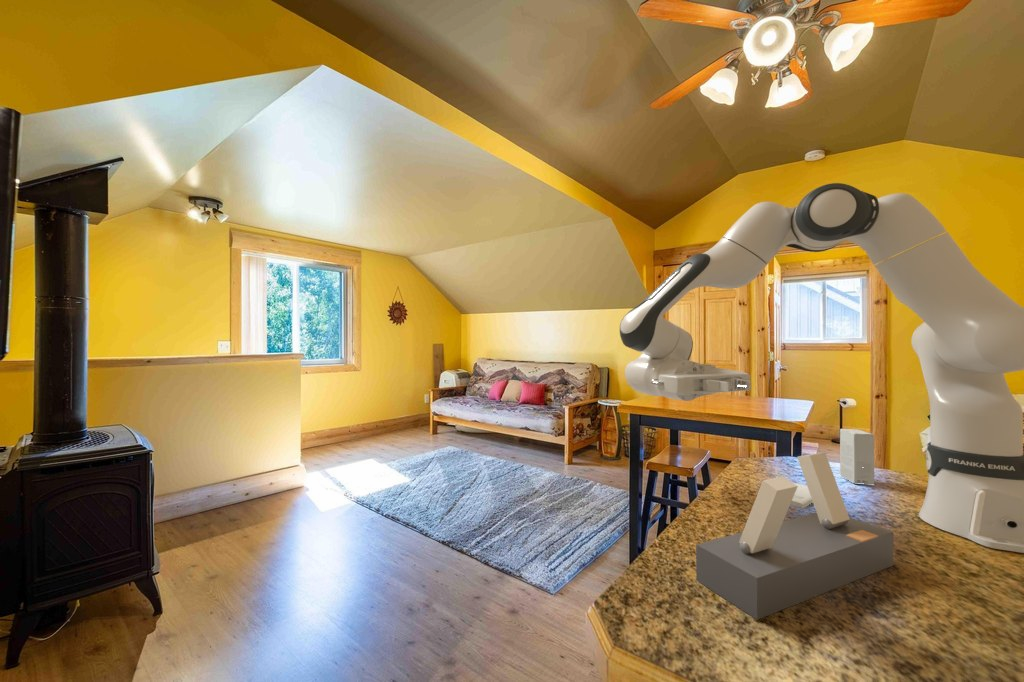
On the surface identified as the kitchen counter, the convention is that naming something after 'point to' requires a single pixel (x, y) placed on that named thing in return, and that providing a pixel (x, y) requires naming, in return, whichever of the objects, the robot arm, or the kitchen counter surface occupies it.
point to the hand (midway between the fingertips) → (739, 386)
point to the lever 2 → (824, 490)
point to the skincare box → (857, 456)
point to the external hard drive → (801, 496)
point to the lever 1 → (767, 514)
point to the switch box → (793, 563)
